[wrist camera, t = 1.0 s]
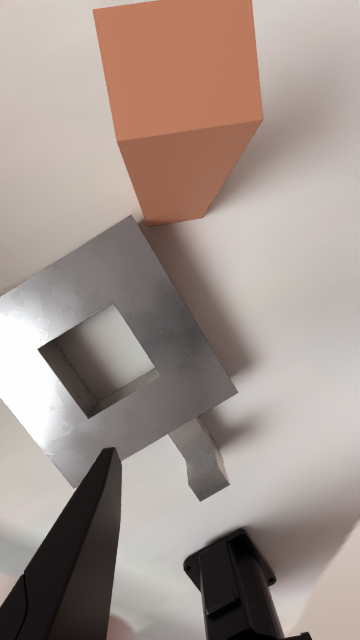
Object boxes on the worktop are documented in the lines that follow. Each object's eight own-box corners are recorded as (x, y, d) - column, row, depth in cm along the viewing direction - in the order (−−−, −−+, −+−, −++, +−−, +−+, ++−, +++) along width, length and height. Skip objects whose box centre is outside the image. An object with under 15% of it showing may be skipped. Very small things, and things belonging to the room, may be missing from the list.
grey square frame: (229, 379, 21) (238, 392, 19) (84, 464, 22) (73, 488, 19) (136, 222, 19) (131, 214, 16) (-25, 322, 19) (-53, 329, 17)
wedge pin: (202, 217, 19) (262, 119, 7) (147, 226, 19) (116, 141, 7) (196, 173, 18) (250, -12, 7) (140, 182, 18) (92, 9, 6)
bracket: (219, 449, 22) (231, 486, 18) (195, 463, 22) (201, 503, 18) (189, 402, 21) (195, 431, 17) (164, 417, 21) (164, 449, 17)
